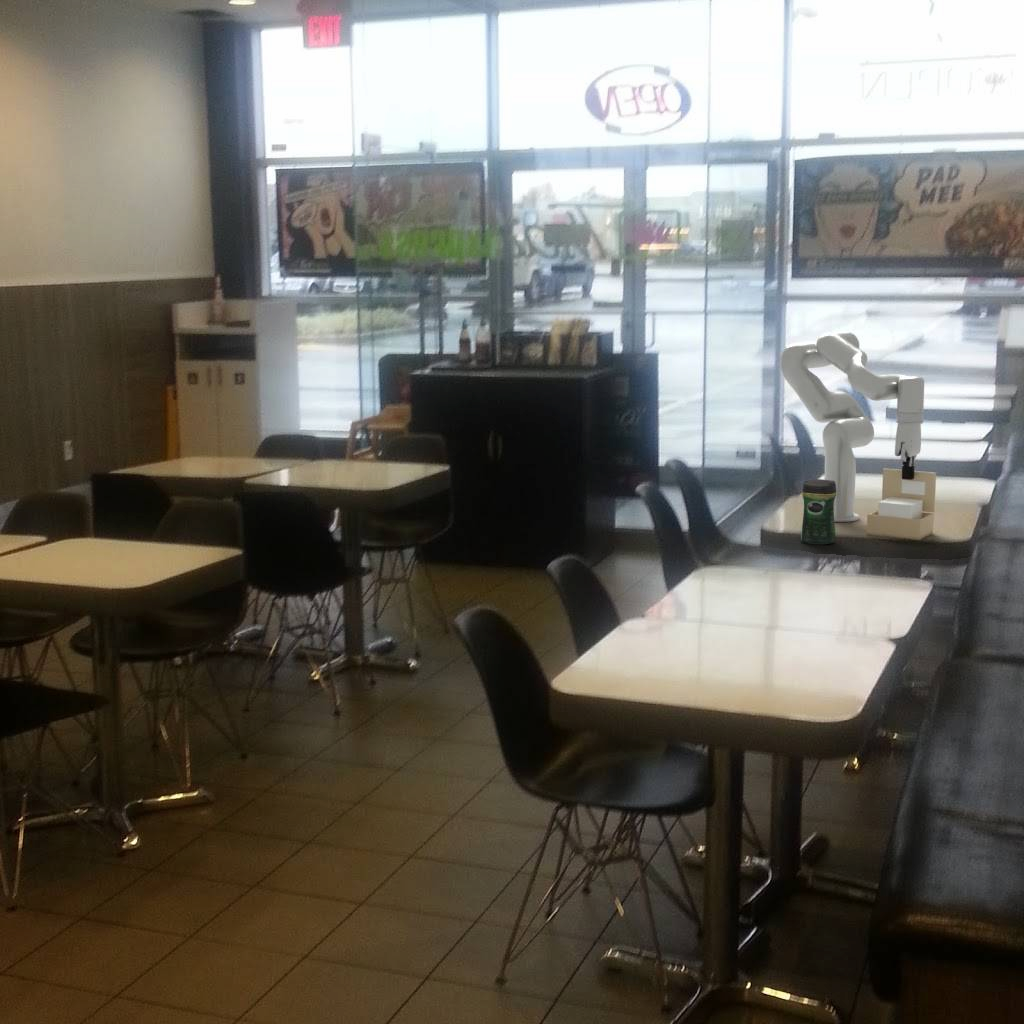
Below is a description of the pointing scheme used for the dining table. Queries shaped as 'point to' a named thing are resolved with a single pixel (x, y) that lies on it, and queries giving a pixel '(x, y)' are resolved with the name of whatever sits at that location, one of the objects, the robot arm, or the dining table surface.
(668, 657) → the dining table surface
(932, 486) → the lid
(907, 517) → the mailer box
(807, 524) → the coffee jar
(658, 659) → the dining table surface
